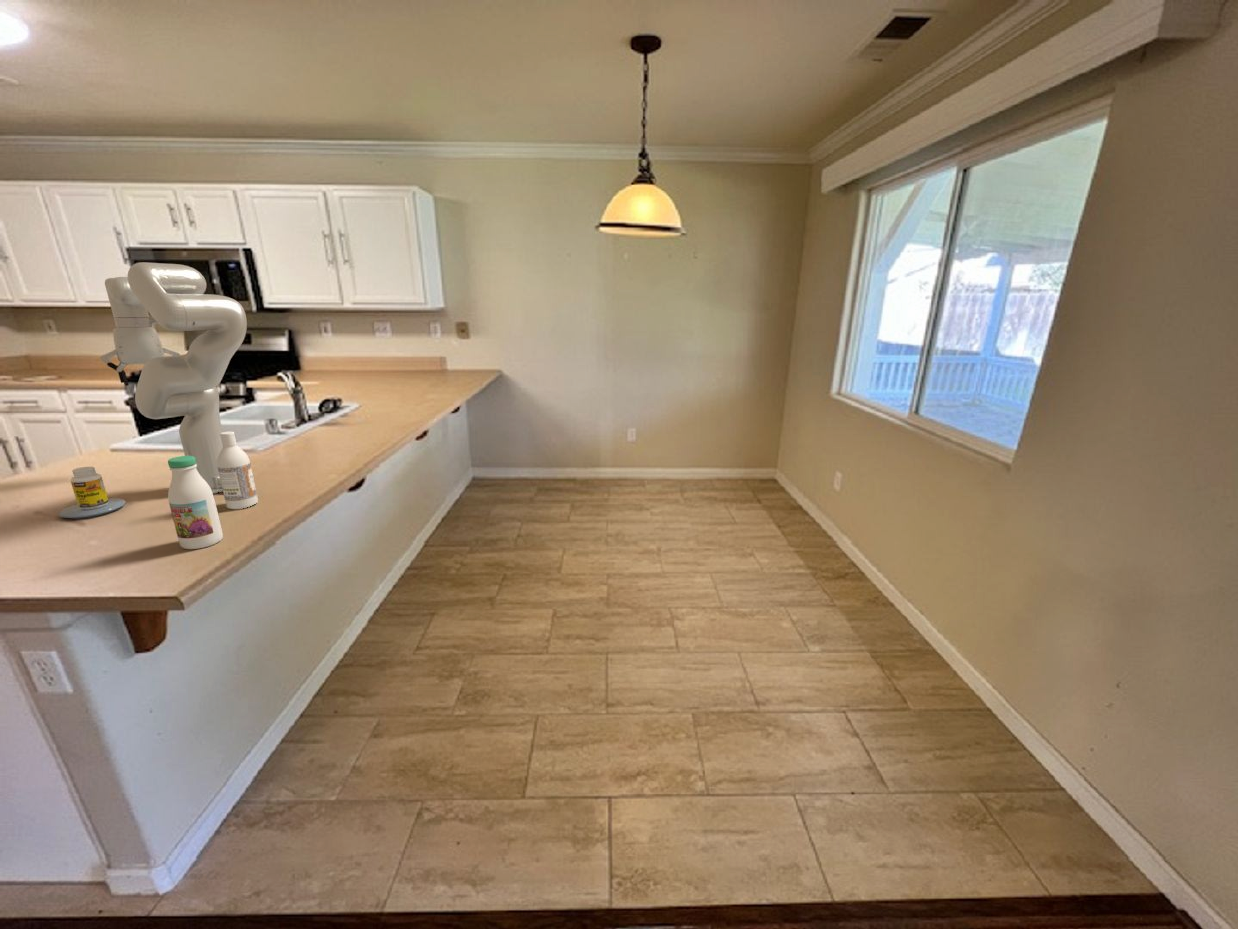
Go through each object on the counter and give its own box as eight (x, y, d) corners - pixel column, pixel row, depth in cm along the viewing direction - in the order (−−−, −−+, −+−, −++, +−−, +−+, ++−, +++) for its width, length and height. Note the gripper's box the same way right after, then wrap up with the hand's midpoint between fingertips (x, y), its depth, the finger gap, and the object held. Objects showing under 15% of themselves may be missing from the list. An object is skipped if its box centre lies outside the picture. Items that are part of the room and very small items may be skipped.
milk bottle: (196, 535, 120) (175, 453, 114) (231, 534, 120) (212, 452, 114) (171, 550, 112) (147, 463, 106) (209, 549, 113) (187, 463, 107)
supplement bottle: (76, 512, 129) (64, 473, 126) (82, 505, 133) (70, 467, 130) (106, 507, 132) (95, 469, 129) (111, 501, 136) (101, 464, 133)
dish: (137, 505, 137) (136, 501, 136) (82, 523, 125) (81, 518, 125) (105, 500, 139) (103, 496, 139) (48, 517, 128) (46, 512, 128)
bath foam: (256, 507, 136) (240, 434, 130) (224, 511, 133) (206, 437, 127) (260, 499, 142) (245, 428, 136) (230, 502, 139) (213, 430, 133)
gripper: (170, 322, 155) (183, 379, 161) (90, 323, 143) (107, 384, 149) (174, 323, 151) (187, 382, 156) (91, 324, 139) (109, 388, 144)
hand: (148, 383), depth 152 cm, fingers open, 9 cm apart
